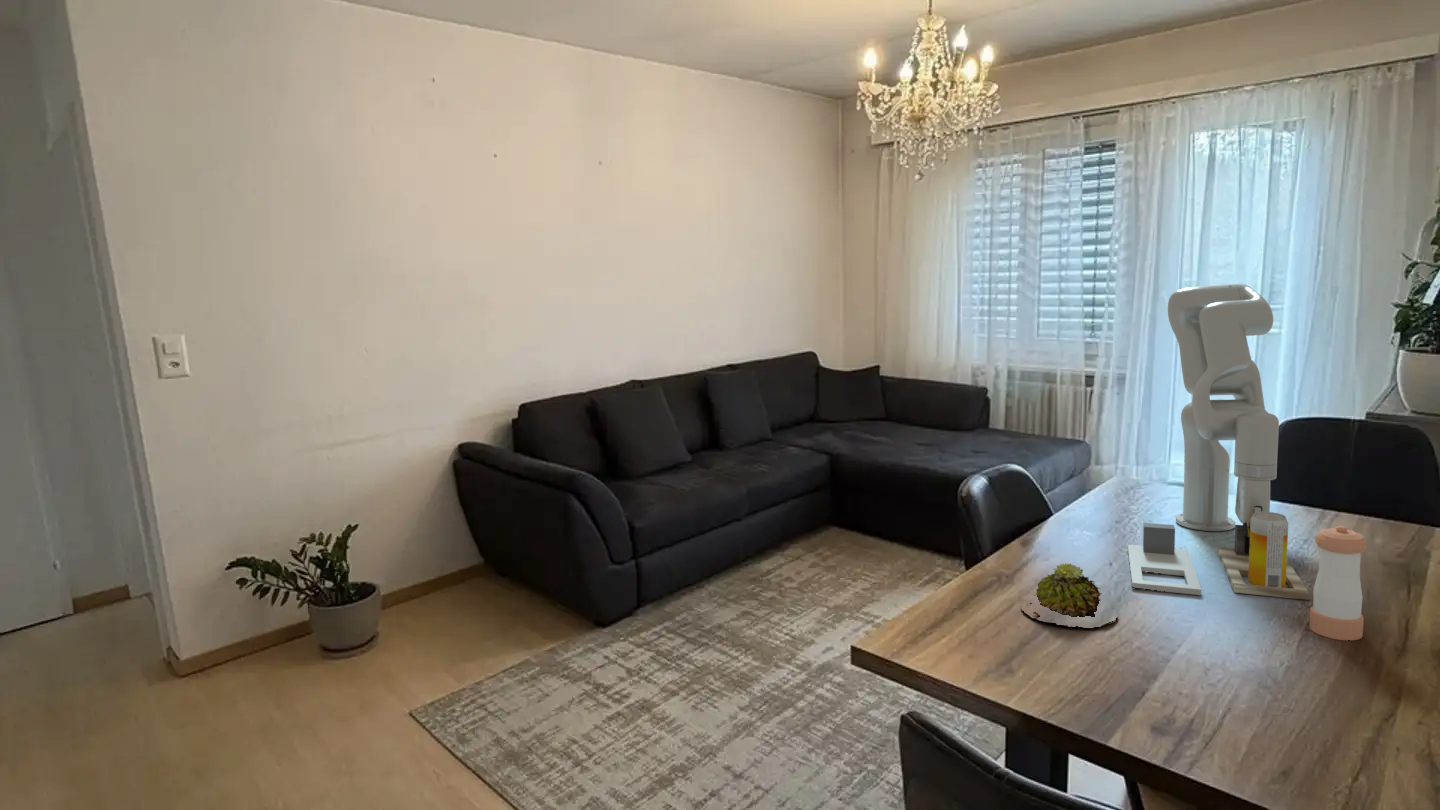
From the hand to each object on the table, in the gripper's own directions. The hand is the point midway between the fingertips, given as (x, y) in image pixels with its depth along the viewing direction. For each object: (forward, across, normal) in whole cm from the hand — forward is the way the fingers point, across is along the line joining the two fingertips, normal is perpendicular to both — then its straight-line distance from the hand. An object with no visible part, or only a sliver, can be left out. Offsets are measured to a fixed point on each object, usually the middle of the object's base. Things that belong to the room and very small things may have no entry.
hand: (1251, 550), depth 166 cm
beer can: (+2, +16, 0) cm, 16 cm away
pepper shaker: (+2, +34, +7) cm, 35 cm away
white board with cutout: (+2, +12, -18) cm, 22 cm away
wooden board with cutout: (+2, +9, 0) cm, 9 cm away
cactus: (+3, +40, -35) cm, 53 cm away
